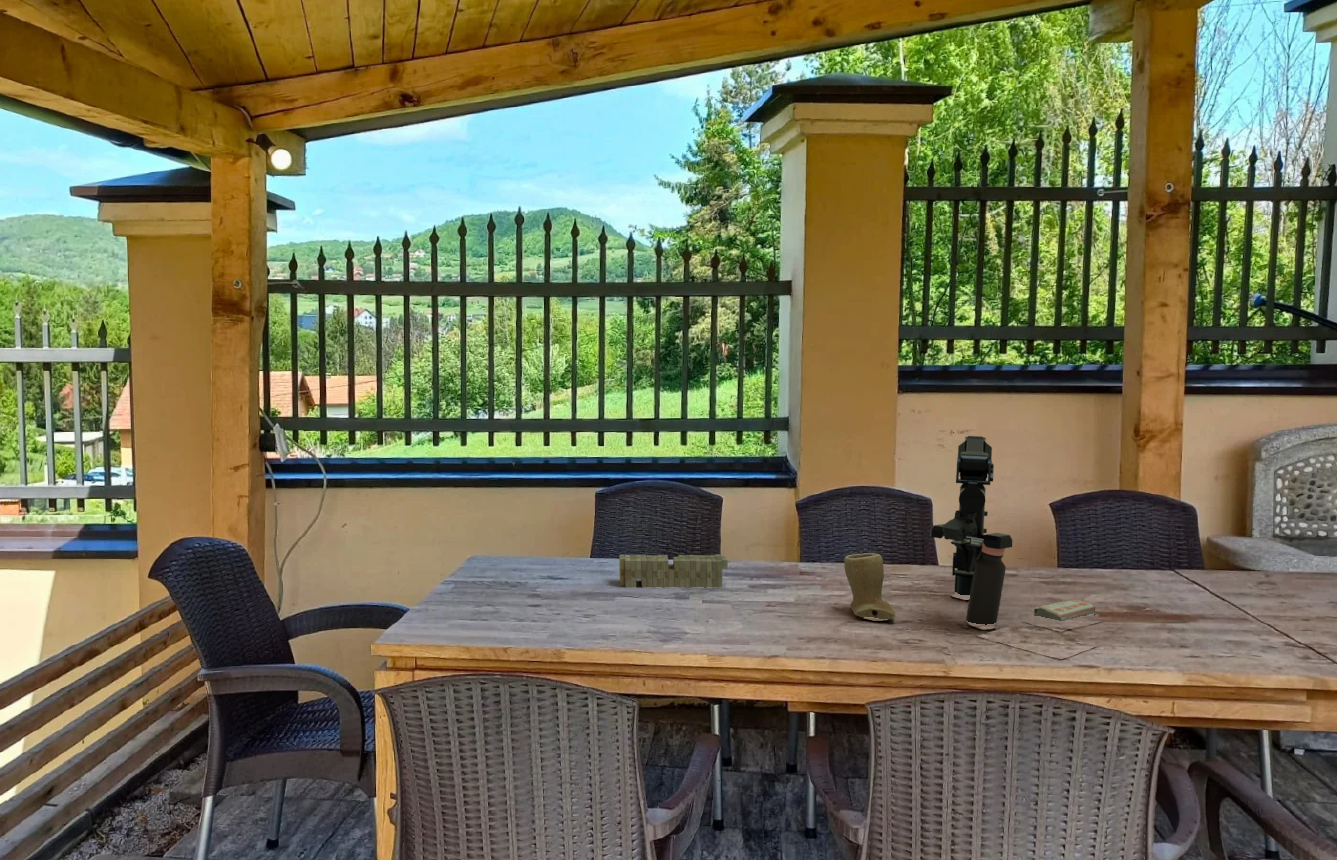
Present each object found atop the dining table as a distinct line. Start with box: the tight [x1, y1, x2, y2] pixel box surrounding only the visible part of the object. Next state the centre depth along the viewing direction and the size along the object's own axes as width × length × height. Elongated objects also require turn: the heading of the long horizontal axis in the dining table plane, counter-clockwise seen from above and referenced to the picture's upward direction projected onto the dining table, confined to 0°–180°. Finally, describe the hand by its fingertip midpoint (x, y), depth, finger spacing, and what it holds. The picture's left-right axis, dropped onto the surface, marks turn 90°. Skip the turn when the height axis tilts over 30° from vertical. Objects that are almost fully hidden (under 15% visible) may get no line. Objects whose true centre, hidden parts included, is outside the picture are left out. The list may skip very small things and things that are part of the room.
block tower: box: [619, 553, 729, 588], centre depth 248 cm, size 8×8×29 cm
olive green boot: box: [843, 552, 897, 620], centre depth 222 cm, size 15×12×15 cm
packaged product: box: [1033, 598, 1096, 621], centre depth 220 cm, size 18×5×10 cm
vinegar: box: [965, 541, 1007, 625], centre depth 212 cm, size 7×7×20 cm
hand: (968, 572), depth 216 cm, fingers closed, pressing on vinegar
